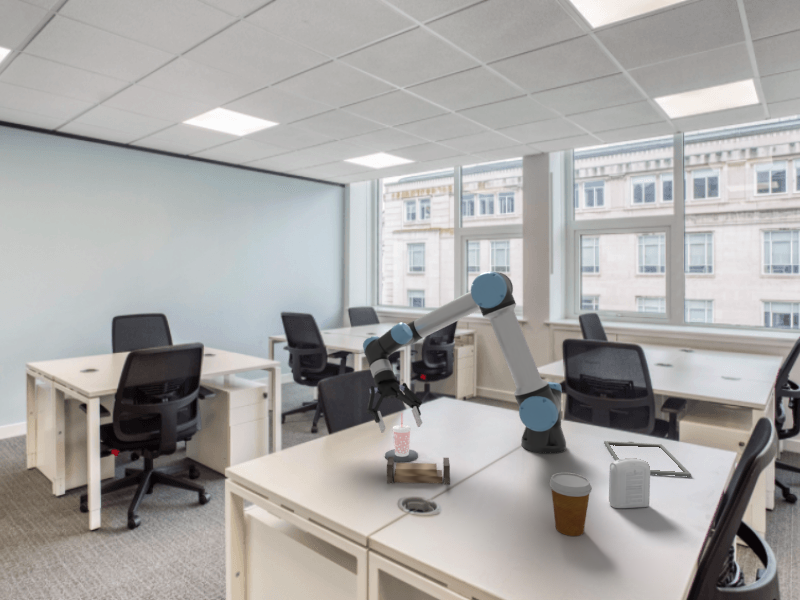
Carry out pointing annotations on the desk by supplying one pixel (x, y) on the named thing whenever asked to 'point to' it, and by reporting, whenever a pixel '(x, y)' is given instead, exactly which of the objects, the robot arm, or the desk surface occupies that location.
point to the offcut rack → (417, 472)
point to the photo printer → (629, 483)
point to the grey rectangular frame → (658, 472)
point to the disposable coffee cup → (570, 502)
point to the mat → (410, 457)
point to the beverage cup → (401, 439)
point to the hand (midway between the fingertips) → (402, 427)
